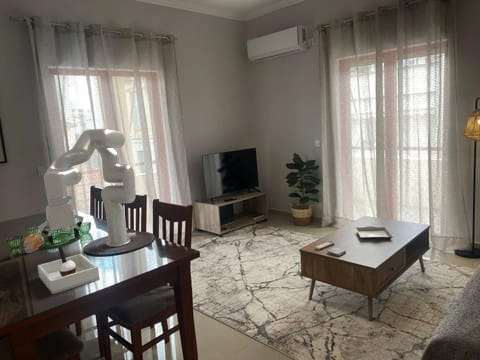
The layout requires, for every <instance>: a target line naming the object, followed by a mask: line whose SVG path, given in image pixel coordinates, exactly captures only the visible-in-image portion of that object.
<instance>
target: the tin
mask: <svg viewBox="0 0 480 360" xmlns="http://www.w3.org/2000/svg"><path fill="white" fill-rule="evenodd" d="M45 236H46V235H45V234H44V233H42V232H35V233H32V234H30V235H28V236H26V237H23V238H22V239H21V241H20V243H19V248H20V251H21V252H22V253H24V254H31V253H34V252H35V251H38V250H40V249H39V247H40V246H41V245H42V244H44V245H45V244H46V243H45V242H46V237H45Z"/></svg>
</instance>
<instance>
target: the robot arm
mask: <svg viewBox="0 0 480 360" xmlns="http://www.w3.org/2000/svg"><path fill="white" fill-rule="evenodd" d="M125 138H126V137H125V135H124V134H123V132H121V131H119V130H116V129H110V128H109V129H108V128H95V129H94V128H92V129H86V130H84V131H82V133H81V135H80V136H79V138H78V139H77V140H76V142H75V144H74V145H73V147H72V148H70V149H69V150H67V151H65V152H63V154H61V155H59V156H57V157H56V158H55V159H54V160H53V161H52V162H51V164H50V165H49V167H47V169H46V172H45V173H44V174H43V181H44V188H45V189H44V190H45V194H46V200H47V205H46V206H45V218H46V221H44V222H43V223H41V224H40V225H39V226H38V227H37V228H38V231H39V230H40V231H39V232H40V233H42V234H43V235H44V236H46V237H47V241H48V244H50V245H51V246H53V245H54V244H55V243H54V238H53V237H54V236H53V235H52V234H53V232H54V231H57V230H62V229H66V228H67V229H68V228H70V227H73V234H74V238H75V239H79V236H80V231H79V229H80V227H81V226H82V225H83V222H84V217H83V216H82V215H76V214H75V213H74V209H73V206H72V203H71V202H70V200H73V198H72V195H68V190H67V187H69V186H77V185H78V184H79V183H80V182H81V181H82V178H83V173H82V171H81V170H80V169H78V168H77V166H79V165H81V164H84V163H87V162H88V161H89V160H90V159H91V157H92V155H93V154H94V152H95V150H96V151H97V152H98V154H99V155H100V159H101V170H102V177H103V181H104V182H106V183H110V184H111V185H106V186H104V187H103V188H102V189H101V191H100V195H101V200H102V202H103V206H104V212H105V220H106V229H107V236H108V237H107V238H108V240H107V241H106V242H105V245H106V246H107V247H112V248H113V247H114V248H115V247H121V246H125V245H127V244H128V245H129V244H130V242H131V237H132V238H133V237H136V236H137V234H136V231H135V232H127V231H128V230H127V223H126V222H127V221H126V215H125V208H124V207H123V206H122V204H130V203H133V202H134V201H135V199H136V193H137V192H136V190H137V189H136V180H135V179H136V177H135V171H134V169H133V166H131V165H130V164H123V163H122V164H120V158H119V154H118V152H117V150H116V149H120V148H123V147H124V145H125V142H126V139H125ZM75 166H76V167H75ZM113 183H115V185H112V184H113ZM116 183H117V185H116ZM118 183H119V185H118ZM120 184H121V185H120ZM76 219H77V220H78V222H76ZM45 227H47V229H48V230H45Z"/></svg>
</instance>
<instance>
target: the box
mask: <svg viewBox="0 0 480 360" xmlns="http://www.w3.org/2000/svg"><path fill="white" fill-rule="evenodd" d="M65 258H66V261H67V262H68V261H69V260H71V261H73V262H74V263H75V264H76V272H75V273H73V274H70V275H67V276H63V277H62V276H61V274H60V271H59V270H60V266H61V265H62V264H63V263H62V260H61V258H59V259H55V260H53V261H50V262H49V261H48V262H45V263H41V264H38V265H37V271H38V277H39V279H40V280H41V282H42V283H43V284H44V286H45V287H46V288H47V290H48V291H49V293H51V295H56V294H60V293H62V292H65V291H68V290H72V289H74V288H77V287H80V286H84V285H88V284H89V283H93V282H97V281H99V280H100V271H99V266H97V265H96V264H95V263H94V262H92V261H91V260H90V259H88V258H87V257H86V256H85V255H84V254H82V253H79V254H75V255H71V256H68V257H65Z"/></svg>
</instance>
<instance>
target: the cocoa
mask: <svg viewBox="0 0 480 360" xmlns="http://www.w3.org/2000/svg"><path fill="white" fill-rule="evenodd" d="M57 250H58V253H59V256H60V259H61V260H62V263H63V264H62V265H61V266H60V270H59V271H60V274H61V276H62V277H63V276H67V275H70V274H73V273H75V272H76V264H75V263H74V262H73V261H71V260H69V261H68V262H67V261H66V258H67V257H66V255H65V253H64V249H63V246H59V247H58V246H57Z"/></svg>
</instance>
